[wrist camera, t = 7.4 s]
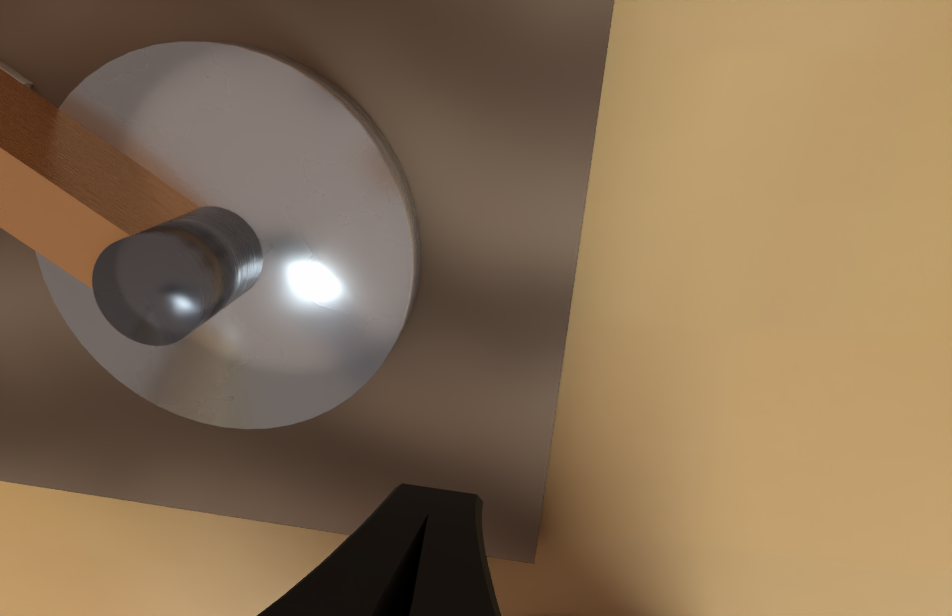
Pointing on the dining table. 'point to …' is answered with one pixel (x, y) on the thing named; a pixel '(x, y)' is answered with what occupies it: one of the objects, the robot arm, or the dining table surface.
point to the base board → (440, 283)
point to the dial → (215, 228)
